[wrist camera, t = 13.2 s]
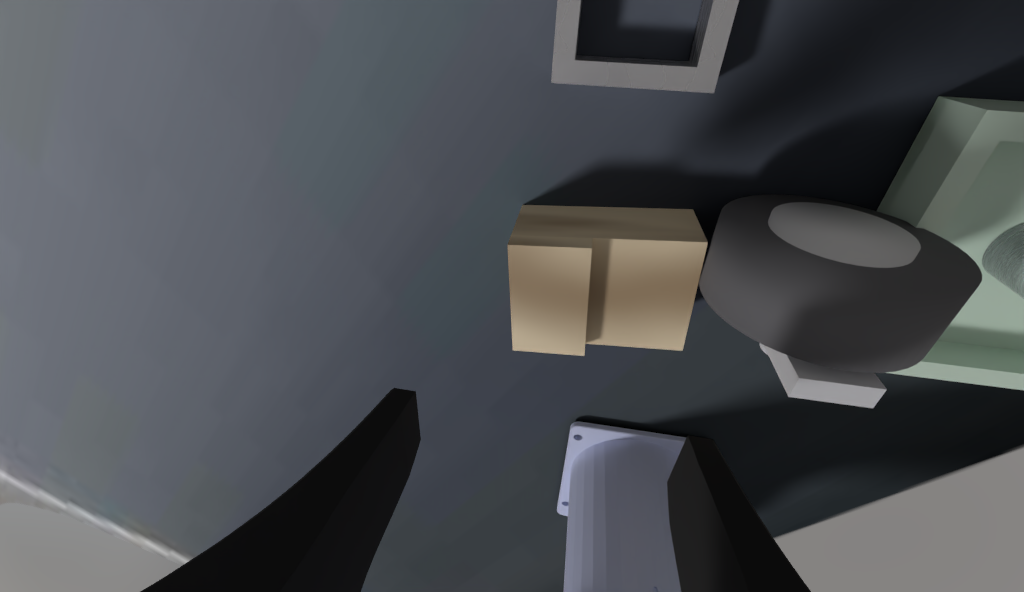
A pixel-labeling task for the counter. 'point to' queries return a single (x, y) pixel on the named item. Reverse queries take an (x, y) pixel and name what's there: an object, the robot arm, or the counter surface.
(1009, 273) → the pin
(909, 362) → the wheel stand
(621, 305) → the block
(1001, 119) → the tray
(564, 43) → the pin socket
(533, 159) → the counter surface
